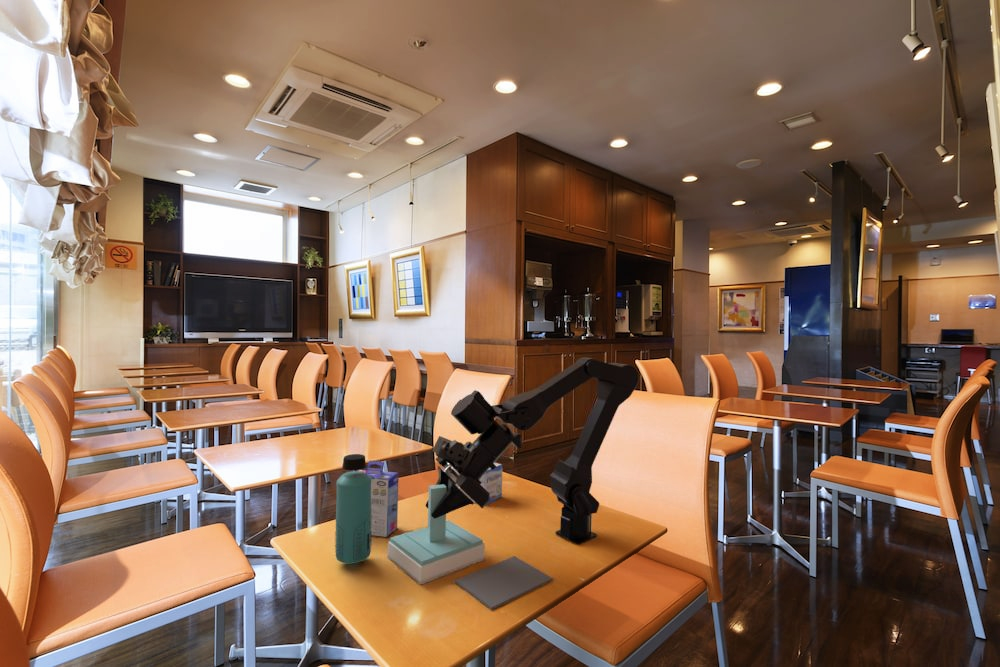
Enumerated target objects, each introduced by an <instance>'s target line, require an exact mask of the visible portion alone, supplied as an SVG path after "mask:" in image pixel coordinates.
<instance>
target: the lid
mask: <svg viewBox="0 0 1000 667" xmlns="http://www.w3.org/2000/svg"><path fill="white" fill-rule="evenodd" d="M446 489H447V487H446V486H445V485H444V484H442V485H436V484H434V485H433V484H432V485H428V500H427V501H428V508H427V509H428V510H427V514H428V515H427V526H426V527H425V526H424V527H422V528H418V529H416V530H412V531H408V532H403V533H402V534H399V535H395V536H392V537H390V538H389V541H390V542H391V543H392V544H393V545H395V546H396V547H397V548H398V549H400V550H401V551H402V552H404V553H405V554H406V555H407V556H409V557H410V558H411V559H413V560H414V561H415V562H417V563H418V564H419V565H420V566H424V565H426V564H429V563H432V562H435V561H437V560H440V559H443V558H446V557H448V556H451V555H454V554H457V553H459V552H462V551H465V550H468V549H470V548H473V547H476V546H479V545H481V544H483V541H484V540H483V539H481V538H480V537H478V536H477V535H475V534H474V533H471V532H470V531H468V530H466V529H465V528H463V527H461V526H460V525H458V524H456V523H454V521H453V522H452V521H451V520H450V519H449V520H448V519H446V518H447V514H445V515H443V516H440V517H438V518H436V519H434V518H433V517H432V516H431V514H432V512H433V510H434V509H435V507H436V506H437V505H438V503H439V502H440V500H441V499H442V498H443V496H444V495H445V494H446Z"/></svg>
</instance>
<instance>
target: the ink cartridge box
mask: <svg viewBox="0 0 1000 667" xmlns="http://www.w3.org/2000/svg"><path fill="white" fill-rule="evenodd" d="M373 465H377V466H379V468H377V467H371V466H373ZM384 466H385V461H379V460H378V461H377V460H376V461H375V460H369V461H368V463H367V465H366V469H360V470H357V471H362V472H365V473H367V474H368V475H369V476H370V477H371V479H372V482H371V500H372V501H371V514H372V515H371V519H372V520H371V521H372V522H371V524H372V525H371V526H372V527H371V531H372V532H371V534H372V536H376V537H383V538H384V537H385V538H386V537H388V536H389V535H390V534H392V533H393V532H394V531H395V530H397V529H398V513H399V512H398V511H399V510H398V509H399V505H398V504H399V472H393V471H383V469H384Z"/></svg>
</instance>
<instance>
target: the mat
mask: <svg viewBox="0 0 1000 667" xmlns="http://www.w3.org/2000/svg"><path fill="white" fill-rule="evenodd" d="M552 581H554V580H553V576H550V575H549V574H547V573H545V572H543V571H541V570H540V569H538V568H536V567H534V566H533V565H531V564H529V563H527V562H525V561H524V560H523V559H520V558H518V557H517V556H515V555H513V556H511V557H508V558H507V559H503V560H502V561H499V562H496V563H494V564H491V565H489V566H485V567H484V568H481V569H479V570H477V571H475V572H472V573H470V574H466V575H464V576H462V577H460V578H457V579H455V580H454V584H456V585H457V586H459V587H460V588H461V589H463V590H464V591H465V592H467V594H469V595H471V596H472V597H474V598H475V599H476V600H477V601H478V602H480V603H481V604H482V605H484V606H485V607H487V608H488V609H489V610H491V611H492V610H495V609H497V608H499V607H500V606H502V605H505V604H508V603H509V602H512V601H513V600H515V599H517V598H519V597H521V596H523V595H525V594H528V593H530V592H531V591H532V592H533V591H534V590H536V589H537V588H539V587H542V586H543V585H546V584H547V583H550V582H552Z"/></svg>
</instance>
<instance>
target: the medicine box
mask: <svg viewBox="0 0 1000 667" xmlns="http://www.w3.org/2000/svg"><path fill="white" fill-rule="evenodd" d="M494 464H495V465H496V467H495V468H494V470H492V469H491V468H489V469H488V470H487V471H486V472H485V474H484V475H483V476H482V477H481V478H480V479H479V480H480V481H481V482H482V483H481V484H480V485H481V486H482V487H483V488H485V489H486V490H487V491H488V492H489V493H490V499H489V502H488V503H487V504H486V505H485V506H484V507H486V506H487V505H489V504H491V503H493V502H495V501H496V499H497V500H499V499H501V498H502V496H503V464H501V463H498V462H494ZM472 501H473V502H474V504H477V503H476V502H475V501H474V500H473V499H472Z"/></svg>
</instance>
